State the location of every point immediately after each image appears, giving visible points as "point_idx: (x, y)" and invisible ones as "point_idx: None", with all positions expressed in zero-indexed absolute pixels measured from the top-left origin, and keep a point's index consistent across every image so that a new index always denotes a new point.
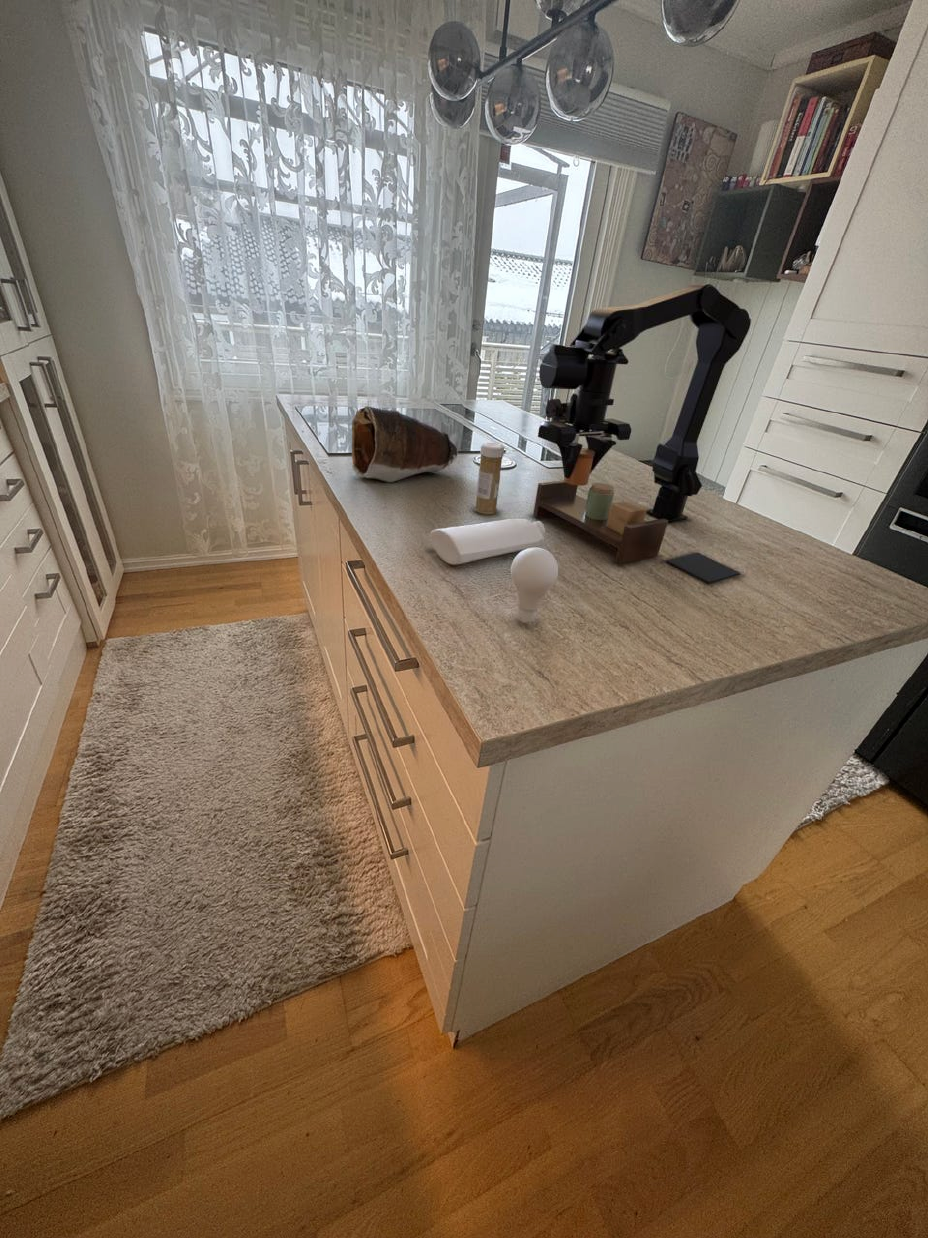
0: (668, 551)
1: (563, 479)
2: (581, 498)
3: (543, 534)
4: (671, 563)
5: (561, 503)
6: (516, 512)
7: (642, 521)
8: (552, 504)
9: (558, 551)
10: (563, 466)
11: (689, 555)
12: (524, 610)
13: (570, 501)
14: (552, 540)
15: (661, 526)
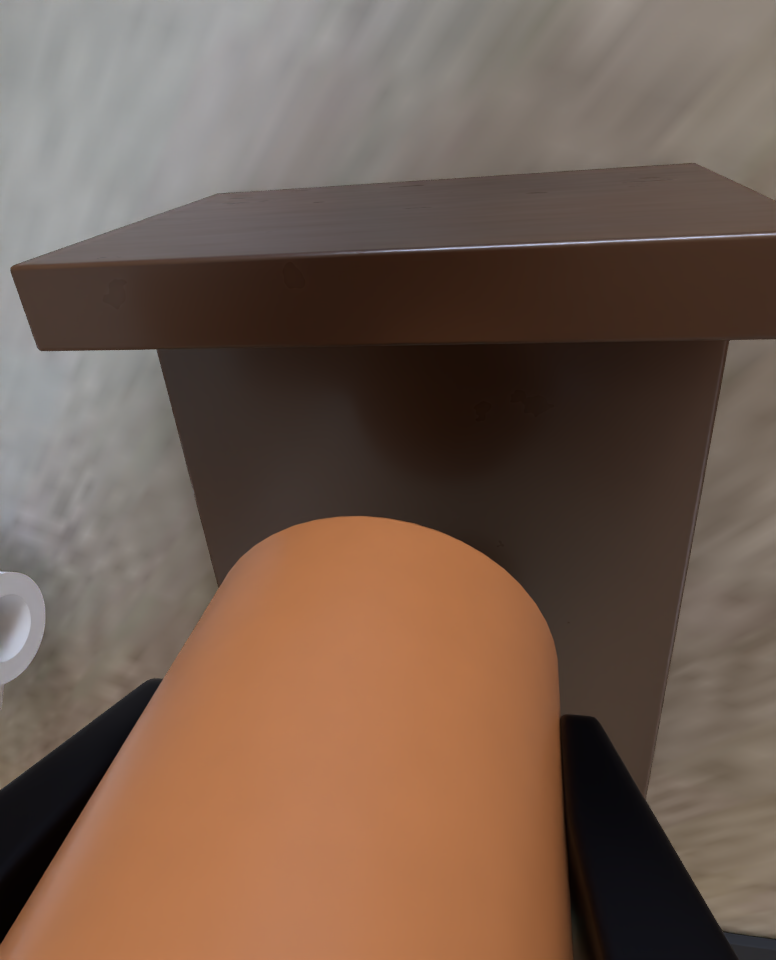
0: (720, 881)
1: (223, 581)
2: (677, 415)
3: (24, 662)
4: None
5: (323, 460)
6: (98, 37)
7: None
8: (215, 451)
9: (137, 675)
10: (9, 801)
11: (751, 951)
12: None
13: (464, 445)
14: (165, 583)
15: None
